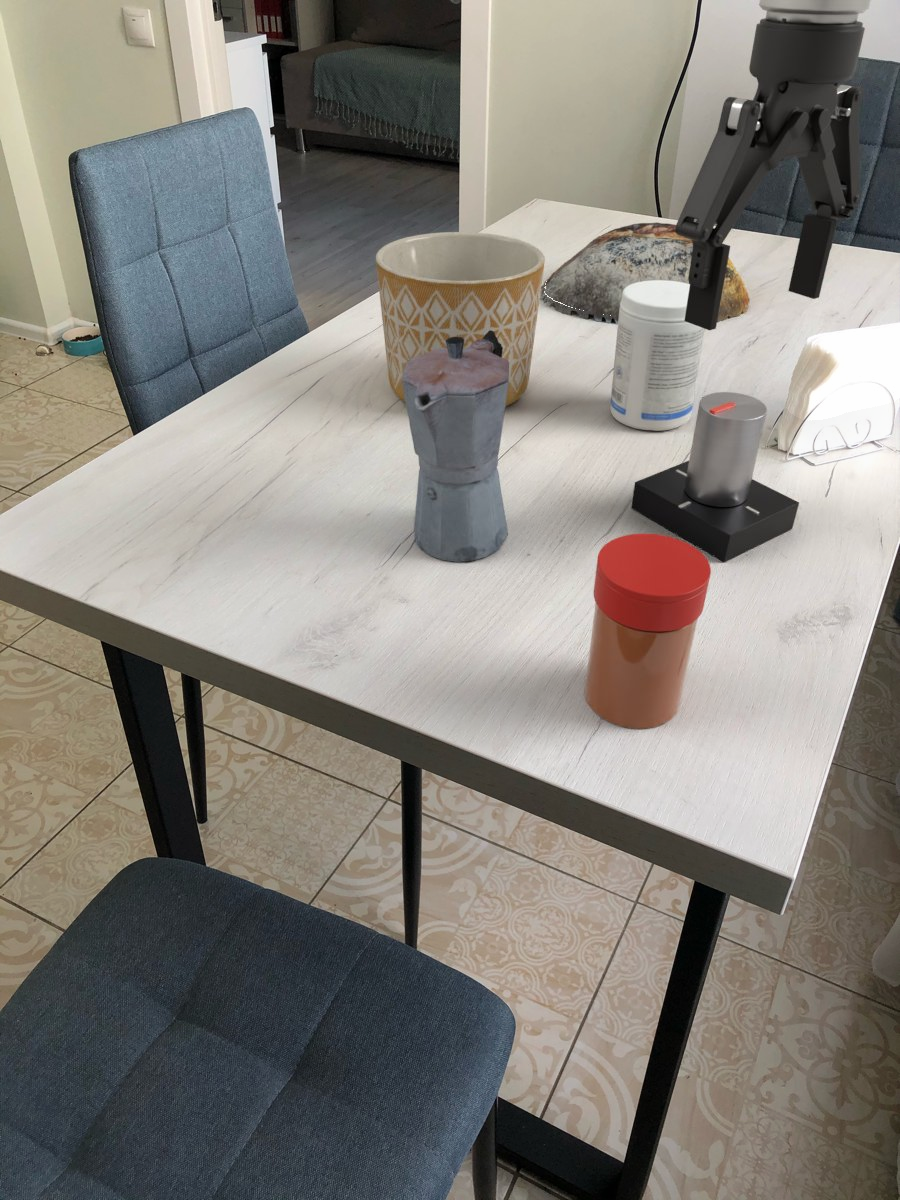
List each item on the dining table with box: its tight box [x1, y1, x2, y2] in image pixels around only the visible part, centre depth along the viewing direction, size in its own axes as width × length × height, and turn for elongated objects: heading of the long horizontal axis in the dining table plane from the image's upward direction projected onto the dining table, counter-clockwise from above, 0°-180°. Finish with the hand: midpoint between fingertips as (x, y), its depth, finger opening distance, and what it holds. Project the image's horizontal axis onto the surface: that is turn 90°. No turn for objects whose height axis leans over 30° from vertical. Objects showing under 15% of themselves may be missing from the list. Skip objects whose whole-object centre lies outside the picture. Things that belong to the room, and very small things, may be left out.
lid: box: [593, 533, 712, 632], centre depth 65 cm, size 8×8×3 cm
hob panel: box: [630, 460, 800, 563], centre depth 92 cm, size 12×10×3 cm
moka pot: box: [402, 330, 509, 563], centre depth 84 cm, size 10×15×20 cm, turn 157°
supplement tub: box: [609, 280, 705, 432], centre depth 107 cm, size 10×10×15 cm
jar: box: [584, 602, 698, 730], centre depth 68 cm, size 7×7×12 cm
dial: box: [685, 391, 768, 507], centre depth 88 cm, size 6×6×9 cm
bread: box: [540, 221, 750, 325], centre depth 143 cm, size 27×32×10 cm
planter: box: [375, 231, 546, 408], centre depth 112 cm, size 19×19×16 cm
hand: (753, 309), depth 80 cm, fingers open, 13 cm apart
